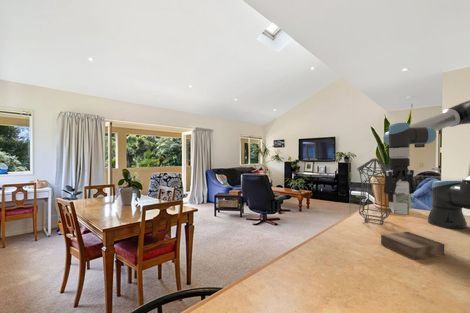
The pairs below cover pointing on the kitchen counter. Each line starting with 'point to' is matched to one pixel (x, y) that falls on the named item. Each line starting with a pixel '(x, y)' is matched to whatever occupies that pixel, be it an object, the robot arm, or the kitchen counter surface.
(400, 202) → the syrup box
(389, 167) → the geometric lantern
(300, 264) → the kitchen counter surface
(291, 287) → the kitchen counter surface
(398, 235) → the walnut base
